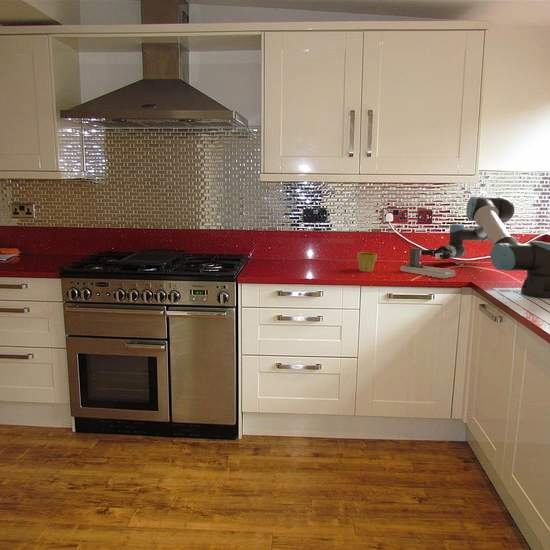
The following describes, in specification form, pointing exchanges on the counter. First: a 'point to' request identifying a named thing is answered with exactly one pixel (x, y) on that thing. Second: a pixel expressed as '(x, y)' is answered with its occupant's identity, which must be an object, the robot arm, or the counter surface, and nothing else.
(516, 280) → the counter surface
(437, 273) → the rail
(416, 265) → the post
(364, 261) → the plant pot
